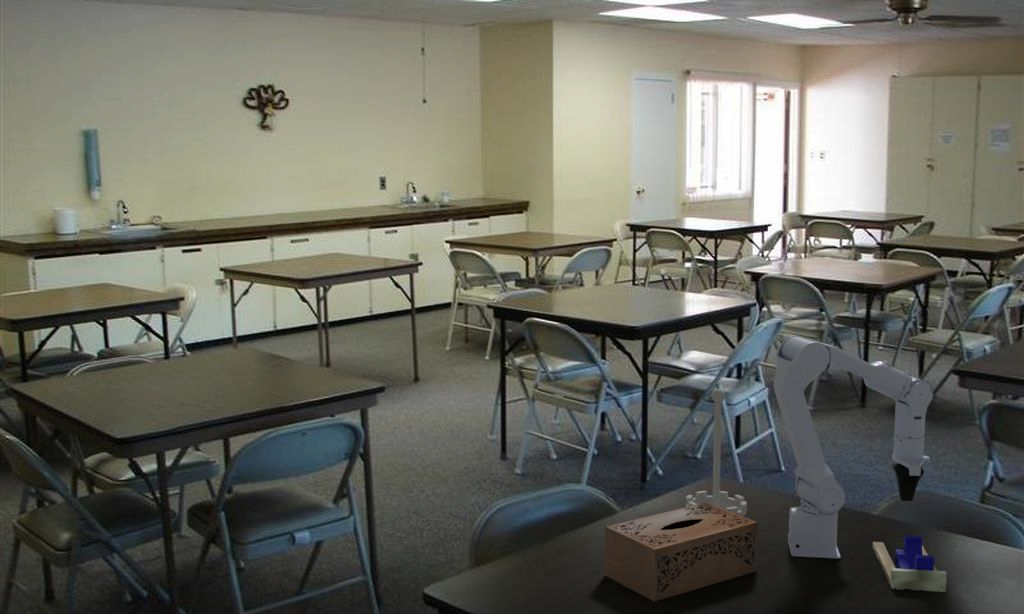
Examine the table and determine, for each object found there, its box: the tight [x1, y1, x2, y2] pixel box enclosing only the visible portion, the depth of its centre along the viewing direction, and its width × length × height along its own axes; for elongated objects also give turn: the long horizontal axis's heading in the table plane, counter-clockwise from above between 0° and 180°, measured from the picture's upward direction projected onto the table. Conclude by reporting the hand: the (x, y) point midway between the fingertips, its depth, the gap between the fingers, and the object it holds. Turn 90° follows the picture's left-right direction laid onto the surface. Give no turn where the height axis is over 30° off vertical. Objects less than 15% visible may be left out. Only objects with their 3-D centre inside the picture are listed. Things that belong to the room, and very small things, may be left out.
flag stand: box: [685, 388, 748, 517], centre depth 226 cm, size 13×13×30 cm
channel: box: [872, 541, 948, 593], centre depth 201 cm, size 10×21×4 cm, turn 170°
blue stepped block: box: [894, 534, 935, 571], centre depth 198 cm, size 12×4×6 cm, turn 170°
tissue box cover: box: [604, 502, 759, 602], centre depth 199 cm, size 26×14×10 cm, turn 123°
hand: (906, 499), depth 213 cm, fingers closed
